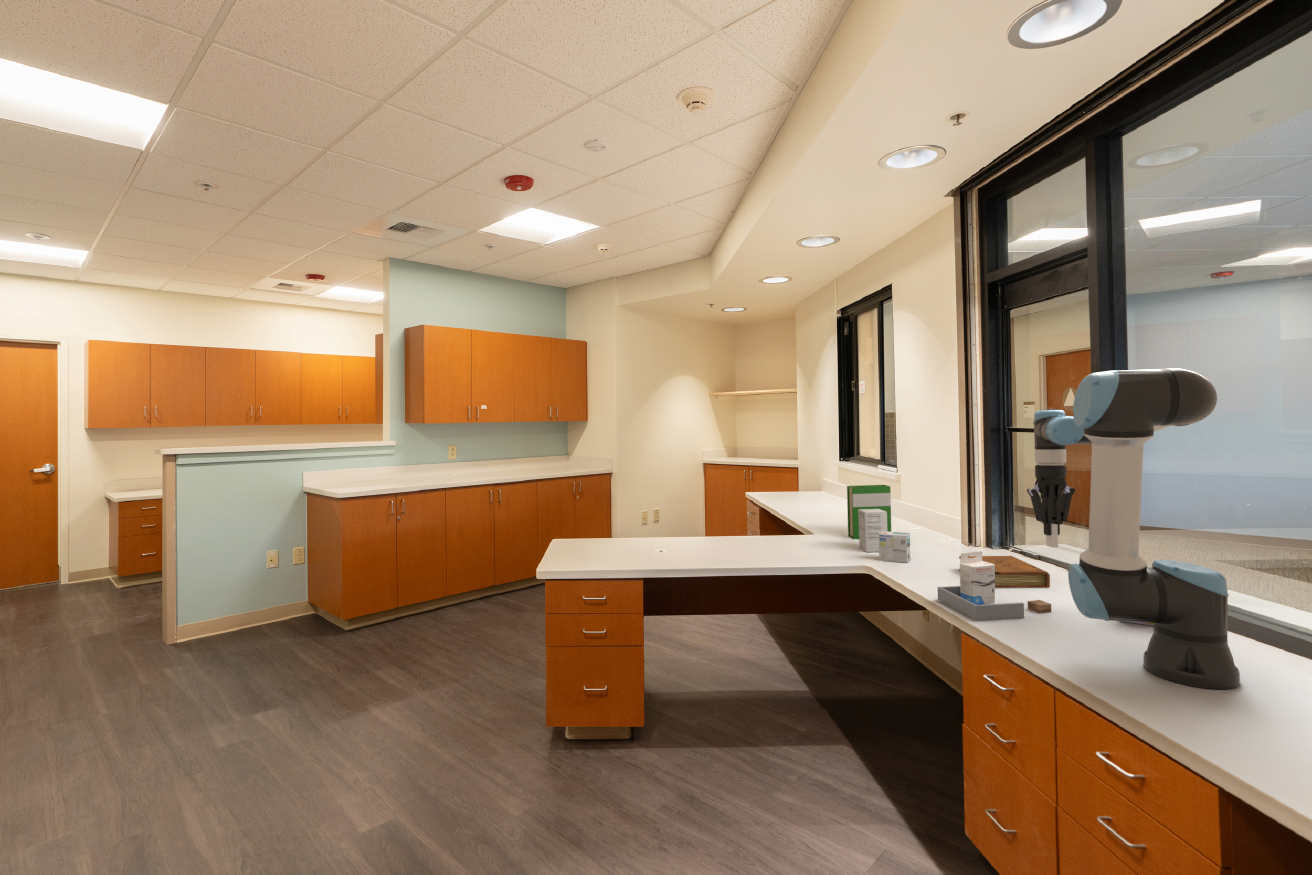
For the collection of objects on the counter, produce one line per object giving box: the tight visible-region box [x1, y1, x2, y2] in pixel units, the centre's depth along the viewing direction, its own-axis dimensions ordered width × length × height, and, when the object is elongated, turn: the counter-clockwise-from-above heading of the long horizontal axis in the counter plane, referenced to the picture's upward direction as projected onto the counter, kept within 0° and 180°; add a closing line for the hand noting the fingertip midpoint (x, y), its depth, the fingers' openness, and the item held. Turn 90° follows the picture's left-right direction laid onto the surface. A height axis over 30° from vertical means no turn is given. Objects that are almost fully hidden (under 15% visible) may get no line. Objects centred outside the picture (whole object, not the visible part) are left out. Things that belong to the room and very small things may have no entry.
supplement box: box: [858, 509, 887, 553], centre depth 251 cm, size 10×9×17 cm
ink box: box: [959, 550, 996, 605], centre depth 177 cm, size 8×5×15 cm, turn 106°
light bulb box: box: [878, 531, 912, 564], centre depth 232 cm, size 11×7×11 cm, turn 58°
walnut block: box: [1027, 599, 1052, 614], centre depth 168 cm, size 4×4×2 cm
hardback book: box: [846, 484, 892, 540], centre depth 277 cm, size 18×7×24 cm, turn 91°
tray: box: [937, 585, 1025, 622], centre depth 171 cm, size 19×14×4 cm
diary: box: [958, 555, 1051, 589], centre depth 202 cm, size 23×19×6 cm
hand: (1052, 546), depth 170 cm, fingers closed
